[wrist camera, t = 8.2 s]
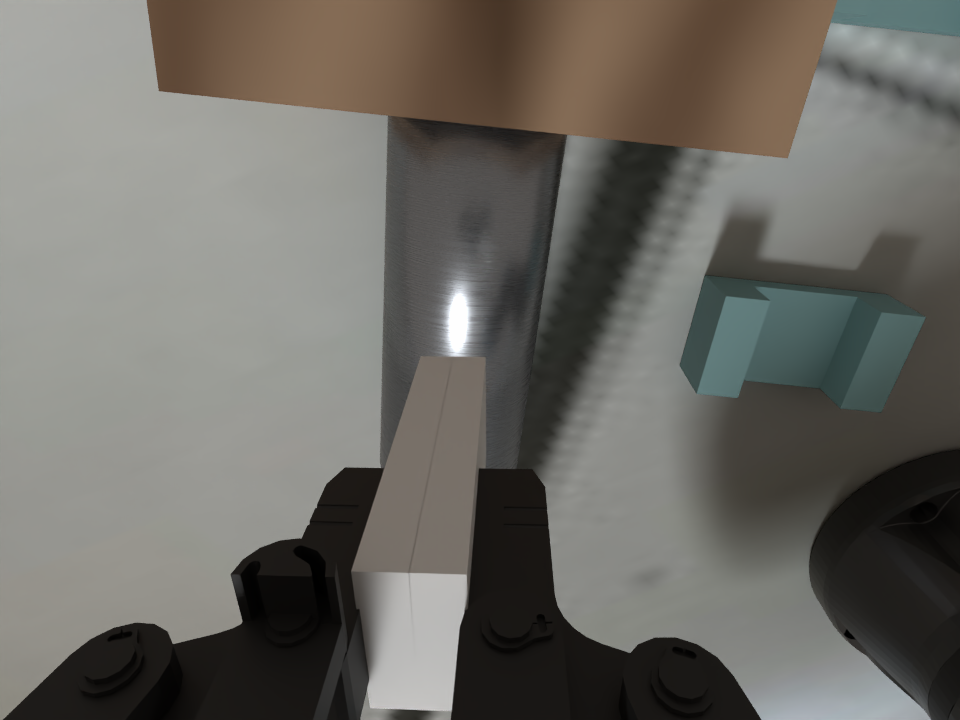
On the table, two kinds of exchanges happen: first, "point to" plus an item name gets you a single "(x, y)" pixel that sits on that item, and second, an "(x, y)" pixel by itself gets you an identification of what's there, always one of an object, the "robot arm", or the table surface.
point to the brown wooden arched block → (513, 63)
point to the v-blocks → (812, 296)
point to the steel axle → (466, 262)
